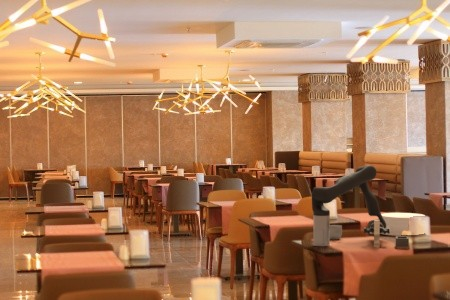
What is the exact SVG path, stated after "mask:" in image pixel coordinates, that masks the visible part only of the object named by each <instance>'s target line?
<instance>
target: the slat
mask: <svg viewBox="0 0 450 300" xmlns="http://www.w3.org/2000/svg"><path fill="white" fill-rule="evenodd" d="M373 220H374V235H373V248H380V241H381V240H380V237H381V235H380V220H375V219H373Z"/></svg>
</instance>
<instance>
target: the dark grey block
mask: <svg viewBox="0 0 450 300" xmlns="http://www.w3.org/2000/svg"><path fill="white" fill-rule="evenodd" d="M409 237H410V236H395V242H394V249H401V250H404V249H408V250H409V249H410V248H411V247H410V239H409Z"/></svg>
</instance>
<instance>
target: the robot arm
mask: <svg viewBox="0 0 450 300" xmlns="http://www.w3.org/2000/svg"><path fill="white" fill-rule="evenodd" d="M377 172H378V171H377V168H376V167H374V165H369V164H367V165H363V166H360V167H358V168H356V170H355V172H352V173H349V174H346V175H344V176H341V177H339V178H338V179H337V180H335V183H334V184H333V185H332V186H327V187H326V186H324V187H323V186H316V187H314V188H313V189H312V192H311V209H312V212H313V217H312V218H313V223H312V224H313V229H312V230H313V231H312V232H313V233H312V234H313V235H312V236H313V239H312V244H313V245H312V246H313V247H314V246H315V247H329V246H330V240H331V239H330V225H331V224H330V223H331V221H330V220H331V219H330V218H331V216H330V215H331V213H330V210H329V209H328V208H326V206H325V204H329V203H331V202H333V201H334V200H335V199H337V198H338V197H340V196H343V195H344V194H346V193H348V192H350V191H352V190H353V189H355V188H357V187H360V191H361V192H362V195H363V198H364V201H365V204H366V205H365V206H366V209H367V212H368V216H369V217H377V218H376V219H372V220H369V221H368V222H367V226H365V227H364V228H363V233H364V234H369V235H370V234H371V235H373V236H374V220H380V236H381V235H385V234H386V233H388V234H389V233H390V229H389V228H386V222H385V220H384V219H383V217H382V215H381V214H382V213H381V210H380V205H379V202H378V201H379V200H378V199H377V197H376V196H375V194H374V193H373V192H372V190H371V189H370V187H369V185H368V182H369V181H373V180H375V178H376V176H377Z"/></svg>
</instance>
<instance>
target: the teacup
mask: <svg viewBox="0 0 450 300" xmlns="http://www.w3.org/2000/svg"><path fill="white" fill-rule="evenodd" d="M342 235H343V225H342V224H341V225H340V224H330V240H339V239H340V238H341V237H342Z"/></svg>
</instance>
